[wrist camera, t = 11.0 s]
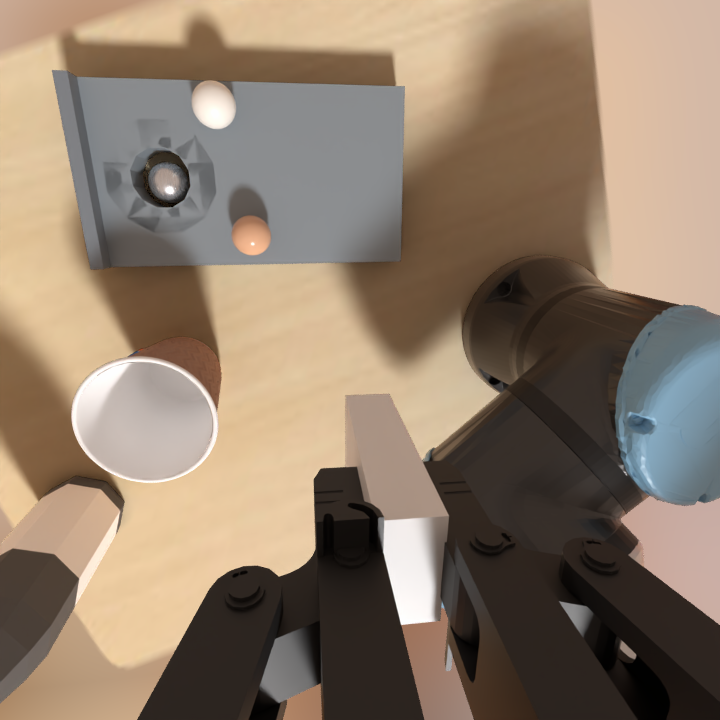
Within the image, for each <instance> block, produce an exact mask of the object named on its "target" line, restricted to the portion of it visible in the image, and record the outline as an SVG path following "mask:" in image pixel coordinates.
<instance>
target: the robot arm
mask: <svg viewBox="0 0 720 720" xmlns="http://www.w3.org/2000/svg"><path fill="white" fill-rule="evenodd" d="M463 344H464V350H465V353H466V357H467V359H468V361H469V364H470V365H471V367H472V369H473V370H474V372H475V373H476V374H477V375H478V376H479V377H480V378H481V379H482V380H483V381H484V382H485V383H486V384H487V385H489V386H490V387H491V388H492V389H494V390H495V391H497V392H499V393H500V394H499V395H498V396H497V397H496V398H494V399H493V400H492V401H491V402H490V403H488V404H487V405H486V406H485V407H484V408H483V409H481V410H480V411H479V412H478V413H477V414H476V415H474V416H473V417H472V418H471V419H470V420H469V421H467V422H466V423H465V424H464V425H463V426H461V427H460V428H459V429H458V430H457V431H456V432H454V433H453V434H452V435H451V436H450V437H449V438H447V439H446V440H445V441H444V442H443V443H441V444H440V445H439V446H438V447H437V448H432V449H431V450H429V451H428V452H427V454H426V456H425V458H424V459H423V460H421V458H420V456H419V454H418V452H417V450H416V448H415V445H414V443H413V441H412V439H411V437H410V435H409V433H408V431H407V429H406V427H405V425H404V423H403V421H402V419H401V417H400V415H399V413H398V411H397V409H396V407H395V405H394V403H393V401H392V398H391V396H390V394H370V395H345V467H341V468H323V469H320V471H319V472H318V474H317V475H316V477H315V478H314V511H315V542H316V549H315V552H314V554H313V556H312V557H311V559H310V560H309V561H308V562H307V563H306V564H305V565H303V566H302V567H301V568H299V569H297V570H295V571H293V572H291V573H289V574H286V575H283V576H280V577H278V575H276V574H275V573H274V572H272V571H271V570H270V569H268V568H264V567H260V566H243V567H240V568H237V569H234V570H231V571H229V572H227V573H226V574H224V575H223V576H221V577H220V578H218V579H217V581H216V582H215V583H214V584H213V585H212V587H211V588H210V589H209V591H208V593H207V594H206V596H205V598H204V600H203V602H202V603H201V605H200V607H199V609H198V611H197V612H196V614H195V616H194V618H193V620H192V622H191V623H190V625H189V627H188V629H187V631H186V632H185V634H184V636H183V638H182V640H181V641H180V643H179V645H178V647H177V649H176V650H175V652H174V654H173V656H172V658H171V659H170V661H169V663H168V665H167V667H166V669H165V670H164V672H163V674H162V676H161V678H160V679H159V681H158V683H157V685H156V687H155V688H154V691H153V692H152V694H151V696H150V698H149V699H148V701H147V703H146V705H145V707H144V708H143V710H142V712H141V714H140V716H139V717H138V719H137V720H283V717H284V713H285V709H286V705H287V699H289V698H291V697H293V696H295V695H297V694H299V693H301V692H303V691H305V690H307V689H309V688H312V687H314V686H316V685H318V684H320V683H321V702H322V703H321V704H322V720H424V717H423V713H422V709H421V705H420V700H419V696H418V692H417V688H416V684H415V680H414V676H413V672H412V668H411V663H410V659H409V655H408V651H407V647H406V643H405V639H404V635H403V631H402V627H401V625H403V624H413V623H423V622H433V621H440V617H441V608H444V609H445V611H446V614H447V617H448V629H447V640H446V651H445V667H446V671H450V670H451V665H452V656H453V659H454V661H455V665H456V667H457V671H458V673H459V676H460V679H461V682H462V685H463V688H464V691H465V694H466V697H467V700H468V703H469V706H470V709H471V712H472V715H473V718H474V720H720V625H719V624H718V623H716V622H715V621H714V620H712V619H711V618H710V617H708V616H707V615H706V614H704V613H703V612H702V611H701V610H699V609H698V608H697V607H695V606H694V605H693V604H691V603H690V602H689V601H687V600H686V599H685V598H683V597H682V596H681V595H680V594H678V593H677V592H676V591H674V590H673V589H672V588H670V587H669V586H668V585H666V584H665V583H664V582H663V581H661V580H660V579H659V578H657V577H656V576H654V575H653V574H652V573H651V572H649V571H648V570H647V569H646V568H644V558H643V557H644V555H643V544H642V543H641V542H640V541H639V540H638V539H637V538H636V537H635V536H634V535H633V534H632V533H631V532H630V531H629V529H627V527H626V526H624V524H623V523H622V522H621V518H622V517H623V516H624V515H625V514H627V513H628V512H629V511H630V510H632V509H633V508H634V507H636V506H637V505H638V504H639V503H641V502H642V501H644V500H645V499H646V498H648V497H649V496H652V497H654V498H655V499H657V500H661V501H663V502H664V501H665V502H668V503H671V504H675V505H682V506H689V505H694V504H695V503H696V502H697V501H699V502H702V503H707V502H711V501H713V500H716V499H718V498H720V316H719V315H716V314H713V313H711V312H708V311H706V310H705V309H703V308H700V307H698V306H692V305H678V304H674V303H669V302H665V301H661V300H656V299H652V298H648V297H644V296H639V295H635V294H631V293H627V292H622V291H618V290H614V289H609V288H607V287H606V286H605V285H604V284H603V283H602V282H601V281H600V280H599V279H598V278H596V277H595V275H594V274H593V273H592V272H590V271H589V270H588V269H587V268H585V267H584V266H582V265H580V264H578V263H576V262H574V261H571V260H568V259H564V258H559V257H553V256H546V255H537V256H529V257H524V258H521V259H518V260H515V261H513V262H510V263H508V264H506V265H505V266H503V267H501V268H500V269H498V270H497V271H496V272H494V273H493V274H492V275H491V276H490V277H489V278H488V279H487V280H486V281H485V282H484V283H483V284H482V285H481V286H480V288H479V289H478V291H477V292H476V294H475V295H474V297H473V299H472V301H471V303H470V305H469V307H468V310H467V313H466V316H465V320H464V326H463Z"/></svg>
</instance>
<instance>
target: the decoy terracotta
mask: <svg viewBox="0 0 720 720" xmlns="http://www.w3.org/2000/svg"><path fill="white" fill-rule="evenodd" d="M231 236H232V241H233V243H234V245H235V247H236V248H237V249H238V250H239V251H240V252H242V253H244V254H246V255H259V254H261V253H263V252H264V251H265V250H266V249H267V248H268V247H269V245H270V242H271V231H270V229H269V226H268V225H267V223H266V222H265V221H264V220H262V219H261V218H259V217H257V216H253V215H247V216H243V217H241V218H240V219H238V220H237V221H236V222H235V224H234V225H233V228H232V232H231Z"/></svg>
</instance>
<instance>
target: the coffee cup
mask: <svg viewBox="0 0 720 720" xmlns="http://www.w3.org/2000/svg"><path fill="white" fill-rule="evenodd" d="M96 376H97V377H96ZM221 378H222V377H221V367H220V364H219V361H218V359H217V357H216V355H215V354H214V352H213V351H212V350H211V349H210V348H209V347H208V346H207V345H205V344H204V343H202V342H200V341H198V340H196V339H193V338H189V337H175V338H170V339H165V340H163V341H160V342H158V343H156V344H154V345H152V346H149V347H147V348H145V349H140V350H138V351H136V352H134V353H133V354H131V355H129V356H128V357H125V358H120V359H116V360H113V361H111V362H108V363H106V364H104V365H102V366H100V367H99V368H97V369H95V370H94V371H93V372H92V373H90V374H89V375H88V376H87V377H86V378H85V379H84V381H83V382H82V383H81V385H80V386H79V388H78V390H77V392H76V394H75V397H74V400H73V404H72V411H71V419H72V426H73V430H74V433H75V436H76V438H77V441H78V442H79V444H80V446H81V447H82V449H83V450H84V452H85V453H86V454H87V455H88V456H89V457H90V458H91V459H92V460H93V461H94V462H95V463H96V464H97V465H99V466H100V467H101V468H103V469H104V470H106V471H108V472H110V473H112V474H114V475H116V476H118V477H121V478H124V479H128V480H132V481H137V482H148V483H152V482H163V481H168V480H172V479H175V478H178V477H181V476H183V475H185V474H187V473H189V472H190V471H192V470H194V469H195V468H196V467H198V466H199V465H200V464H201V463H202V462H203V461H204V460H205V459H206V458H207V456H208V455H209V453H210V452H211V450H212V448H213V446H214V444H215V441H216V438H217V434H218V415H217V408H218V401H219V393H220V385H221ZM88 384H89V385H88ZM87 385H88V386H87ZM82 393H83V394H82ZM81 395H82V396H81ZM210 438H211V440H210ZM207 446H208V447H207ZM201 455H202V456H201Z"/></svg>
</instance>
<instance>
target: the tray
mask: <svg viewBox="0 0 720 720" xmlns="http://www.w3.org/2000/svg"><path fill="white" fill-rule="evenodd" d="M52 73H53V78H54V83H55V89H56V94H57V99H58V104H59V109H60V114H61V120H62V125H63V130H64V135H65V140H66V145H67V150H68V156H69V161H70V166H71V171H72V176H73V181H74V187H75V192H76V197H77V202H78V207H79V212H80V217H81V223H82V228H83V233H84V238H85V243H86V248H87V254H88V259H89V264H90V269H106V268H110V267H141V266H193V265H244V264H296V263H347V262H399V261H401V228H402V184H403V140H404V97H405V86H374V85H339V84H305V83H271V82H237V81H217V82H220V83H222V84H223V85H225V86H226V87H227V88H228V89H229V90H230V92H231V93H232V95H233V97H234V99H235V103H236V114H235V117H234V119H233V121H232V122H231V123H230V124H229V125H228V126H227V127H225V128H222V129H212V128H209V127H207V126H205V125H204V124H202V123H201V122H200V121H199V120H198V118H197V117H196V116H195V114H194V111H193V109H192V103H191V99H192V94H193V91H194V89H195V88H196V86H197V85H198V84H200V83H201V82H204V81H203V80H169V79H135V78H101V77H76V76H75V75H73V74H72V73H70V72H68V71H60V70H52ZM160 152H173V153H175V154H176V155H178V156H179V157H180V158H181V160H182V161H183V163H184V164H185V166H186V167H187V169H188V170H189V178H190V188H189V191H188V193H187V195H186V197H185V200H183V201H182V202H180V203H178V204H177V205H175V206H174V207H165V206H163V205H161V204H159V203H157V202H155V201H154V200H153V199H152V197H151V196H150V195H149V193H148V192H147V190H146V189H145V186H144V179H143V171H144V168H145V166H146V164H147V161H148V160H149V159H150V158H152V157H153V156H155V155H156V154H158V153H160ZM247 215H253V216H257V217H259V218H261V219H262V220H264V221H265V222H266V223H267V225H268V226H269V229H270V231H271V242H270V245H269V247H268V248H267V249H266V250H265V251H264V252H263V253H261V254H259V255H246V254H244V253H242V252H240V251H239V250H238V249H237V248H236V247H235V245H234V243H233V241H232V236H231V232H232V228H233V225H234V224H235V222H236V221H237V220H238V219H240V218H241V217H243V216H247Z"/></svg>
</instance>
